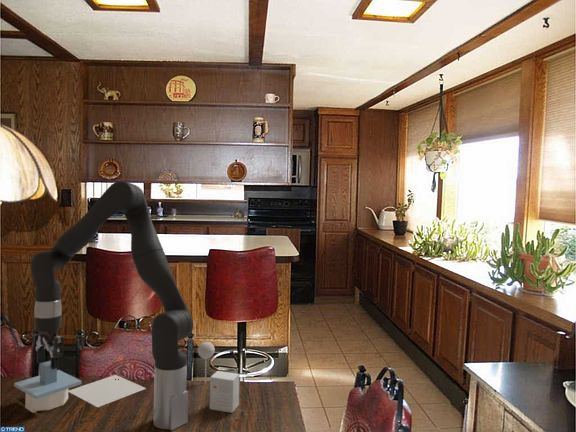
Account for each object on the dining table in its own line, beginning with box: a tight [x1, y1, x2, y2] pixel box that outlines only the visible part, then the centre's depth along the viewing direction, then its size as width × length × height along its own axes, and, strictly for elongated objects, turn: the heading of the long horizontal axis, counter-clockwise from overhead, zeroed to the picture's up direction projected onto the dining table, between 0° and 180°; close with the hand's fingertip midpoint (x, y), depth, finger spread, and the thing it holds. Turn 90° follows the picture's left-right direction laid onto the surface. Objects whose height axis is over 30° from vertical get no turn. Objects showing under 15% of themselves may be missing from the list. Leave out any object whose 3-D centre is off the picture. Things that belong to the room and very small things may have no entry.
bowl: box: [24, 388, 69, 414], centre depth 141 cm, size 11×11×6 cm
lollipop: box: [197, 341, 216, 384], centre depth 161 cm, size 6×6×15 cm
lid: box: [13, 360, 83, 399], centre depth 141 cm, size 14×14×7 cm
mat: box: [68, 374, 147, 408], centre depth 151 cm, size 18×18×1 cm
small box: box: [209, 370, 240, 414], centre depth 143 cm, size 8×6×10 cm
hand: (47, 365), depth 140 cm, fingers open, 8 cm apart
